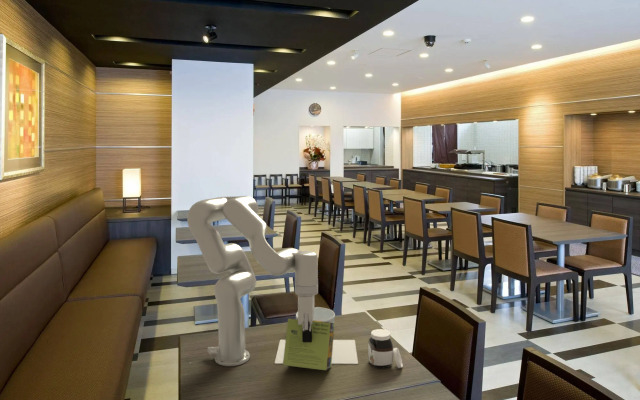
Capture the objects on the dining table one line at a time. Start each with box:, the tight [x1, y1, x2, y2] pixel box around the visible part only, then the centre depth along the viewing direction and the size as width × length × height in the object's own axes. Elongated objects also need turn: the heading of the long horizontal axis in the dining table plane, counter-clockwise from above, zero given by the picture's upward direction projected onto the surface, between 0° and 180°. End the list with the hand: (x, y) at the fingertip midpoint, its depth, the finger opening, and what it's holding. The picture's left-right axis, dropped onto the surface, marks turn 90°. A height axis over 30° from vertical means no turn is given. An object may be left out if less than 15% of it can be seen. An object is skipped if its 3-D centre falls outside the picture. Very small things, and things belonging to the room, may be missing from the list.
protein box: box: [282, 318, 335, 371], centre depth 161 cm, size 10×15×16 cm
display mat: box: [274, 339, 359, 365], centre depth 175 cm, size 30×20×1 cm, turn 89°
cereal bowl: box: [295, 306, 336, 323], centre depth 195 cm, size 17×17×7 cm
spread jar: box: [367, 328, 404, 369], centre depth 164 cm, size 12×11×12 cm
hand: (307, 341), depth 155 cm, fingers closed
